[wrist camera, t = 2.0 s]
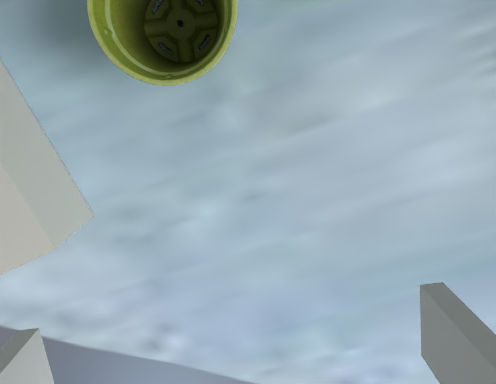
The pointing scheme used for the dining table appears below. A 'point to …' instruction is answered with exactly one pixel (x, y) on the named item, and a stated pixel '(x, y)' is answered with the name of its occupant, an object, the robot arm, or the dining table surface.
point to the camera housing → (32, 185)
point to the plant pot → (163, 36)
